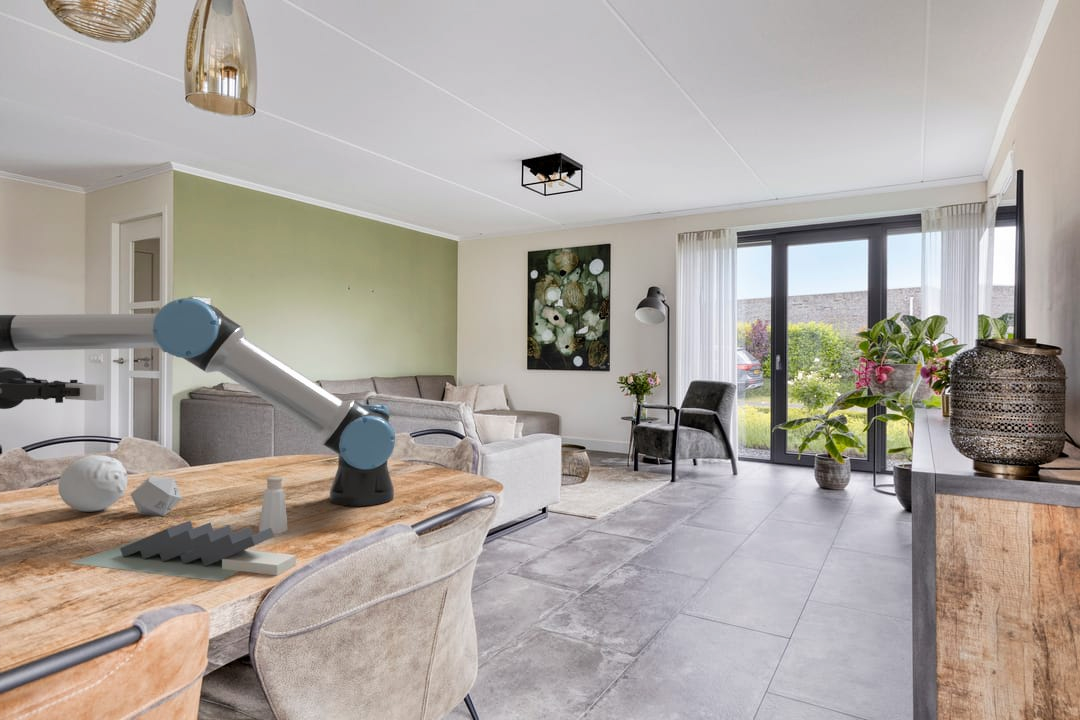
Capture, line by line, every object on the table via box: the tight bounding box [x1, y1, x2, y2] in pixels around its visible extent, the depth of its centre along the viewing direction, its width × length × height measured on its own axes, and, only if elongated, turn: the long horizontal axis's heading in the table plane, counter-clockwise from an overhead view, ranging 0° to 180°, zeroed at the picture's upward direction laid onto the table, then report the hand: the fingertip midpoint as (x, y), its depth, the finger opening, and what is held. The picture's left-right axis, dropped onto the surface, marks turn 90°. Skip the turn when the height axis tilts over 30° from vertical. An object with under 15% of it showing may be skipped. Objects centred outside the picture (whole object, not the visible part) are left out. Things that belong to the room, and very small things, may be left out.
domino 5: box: [201, 528, 275, 566], centre depth 100 cm, size 2×5×10 cm
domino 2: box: [140, 522, 214, 559], centre depth 103 cm, size 2×5×10 cm
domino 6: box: [222, 549, 297, 576], centre depth 99 cm, size 2×5×10 cm
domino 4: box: [180, 525, 254, 564], centre depth 101 cm, size 2×5×10 cm
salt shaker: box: [258, 475, 288, 535], centre depth 120 cm, size 5×5×11 cm
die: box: [130, 476, 183, 517], centre depth 131 cm, size 8×9×10 cm
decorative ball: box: [58, 454, 128, 513], centre depth 131 cm, size 12×12×12 cm
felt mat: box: [70, 537, 277, 582], centre depth 103 cm, size 28×14×1 cm, turn 78°
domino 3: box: [159, 524, 233, 562], centre depth 102 cm, size 2×5×10 cm
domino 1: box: [120, 520, 194, 557], centre depth 103 cm, size 2×5×10 cm
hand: (99, 392), depth 106 cm, fingers closed
